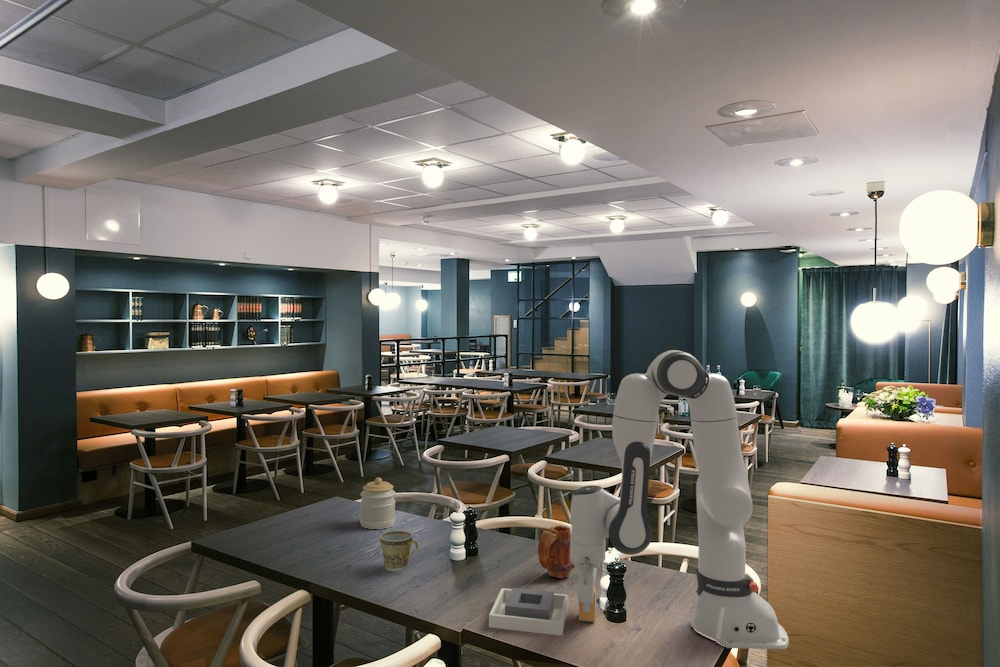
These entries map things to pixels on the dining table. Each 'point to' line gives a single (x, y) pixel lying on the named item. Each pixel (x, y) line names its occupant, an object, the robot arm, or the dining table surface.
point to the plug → (588, 615)
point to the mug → (555, 551)
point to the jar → (377, 505)
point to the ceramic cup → (396, 549)
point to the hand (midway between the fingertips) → (587, 605)
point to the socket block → (530, 604)
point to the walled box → (529, 624)
